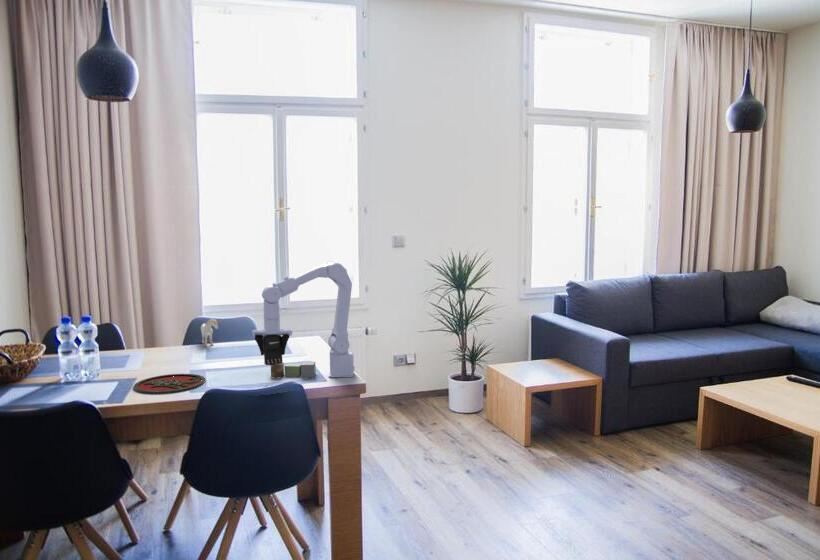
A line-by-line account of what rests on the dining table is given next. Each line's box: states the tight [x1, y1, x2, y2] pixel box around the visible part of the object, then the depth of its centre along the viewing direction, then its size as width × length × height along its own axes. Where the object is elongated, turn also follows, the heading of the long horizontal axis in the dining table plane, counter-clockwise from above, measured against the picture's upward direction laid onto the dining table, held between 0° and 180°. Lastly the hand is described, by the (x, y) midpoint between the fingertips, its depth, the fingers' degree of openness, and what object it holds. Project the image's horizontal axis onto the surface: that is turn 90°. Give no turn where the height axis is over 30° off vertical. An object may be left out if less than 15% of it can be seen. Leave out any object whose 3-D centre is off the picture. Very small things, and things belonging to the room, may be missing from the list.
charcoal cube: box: [300, 361, 317, 378], centre depth 240 cm, size 5×5×5 cm
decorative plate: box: [133, 373, 207, 395], centre depth 230 cm, size 25×1×25 cm
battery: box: [263, 335, 284, 366], centre depth 231 cm, size 7×4×11 cm, turn 115°
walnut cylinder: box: [270, 362, 285, 379], centre depth 240 cm, size 5×5×5 cm
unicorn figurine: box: [200, 318, 226, 347], centre depth 298 cm, size 7×20×13 cm, turn 46°
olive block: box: [284, 363, 302, 377], centre depth 242 cm, size 6×4×4 cm, turn 82°
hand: (273, 354), depth 231 cm, fingers closed on battery, 7 cm apart
